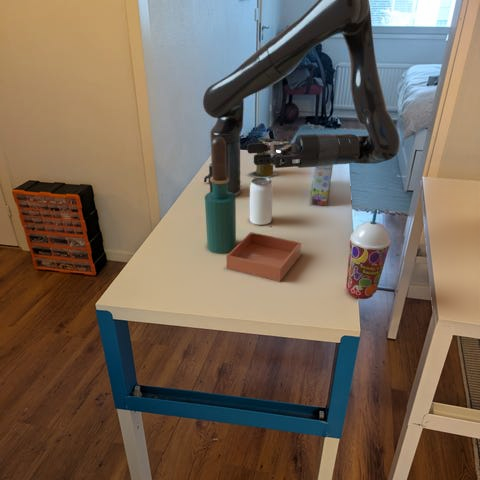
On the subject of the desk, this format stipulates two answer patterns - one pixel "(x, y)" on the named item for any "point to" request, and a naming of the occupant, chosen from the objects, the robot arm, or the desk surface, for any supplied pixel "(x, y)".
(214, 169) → the stopper
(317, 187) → the snack box
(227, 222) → the flask
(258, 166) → the condiment
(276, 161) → the robot arm
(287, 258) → the dish
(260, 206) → the can
